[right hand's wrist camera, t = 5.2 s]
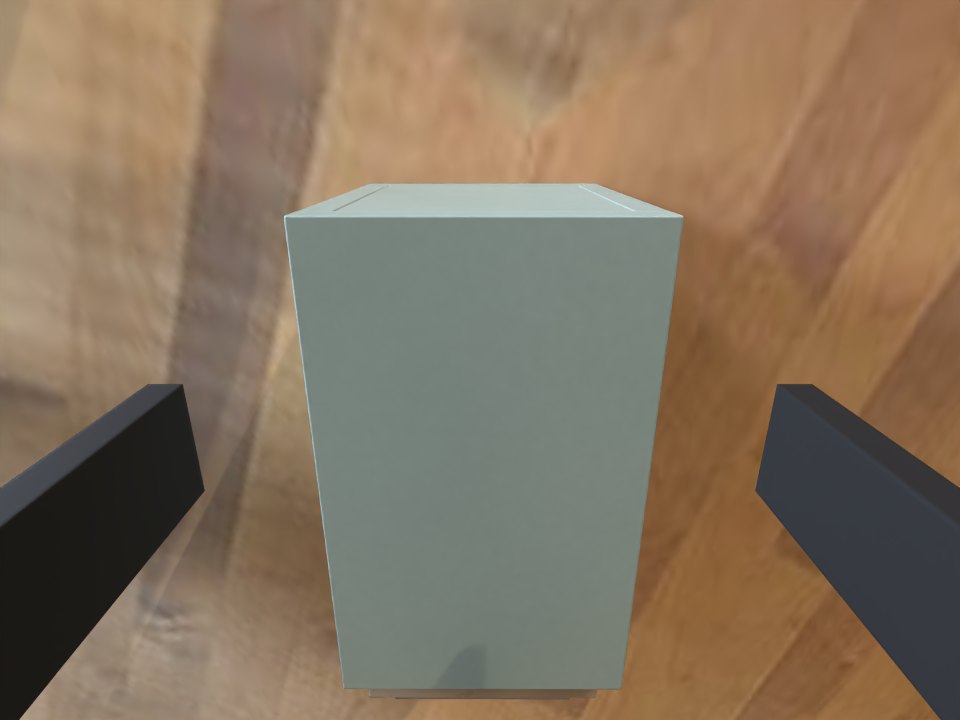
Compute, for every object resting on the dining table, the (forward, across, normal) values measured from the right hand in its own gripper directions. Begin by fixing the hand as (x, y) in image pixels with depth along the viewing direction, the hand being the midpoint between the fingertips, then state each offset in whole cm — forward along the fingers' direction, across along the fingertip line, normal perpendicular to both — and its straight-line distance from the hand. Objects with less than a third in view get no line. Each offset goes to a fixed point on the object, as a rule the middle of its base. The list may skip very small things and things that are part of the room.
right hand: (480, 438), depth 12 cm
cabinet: (+15, 0, -4) cm, 15 cm away
